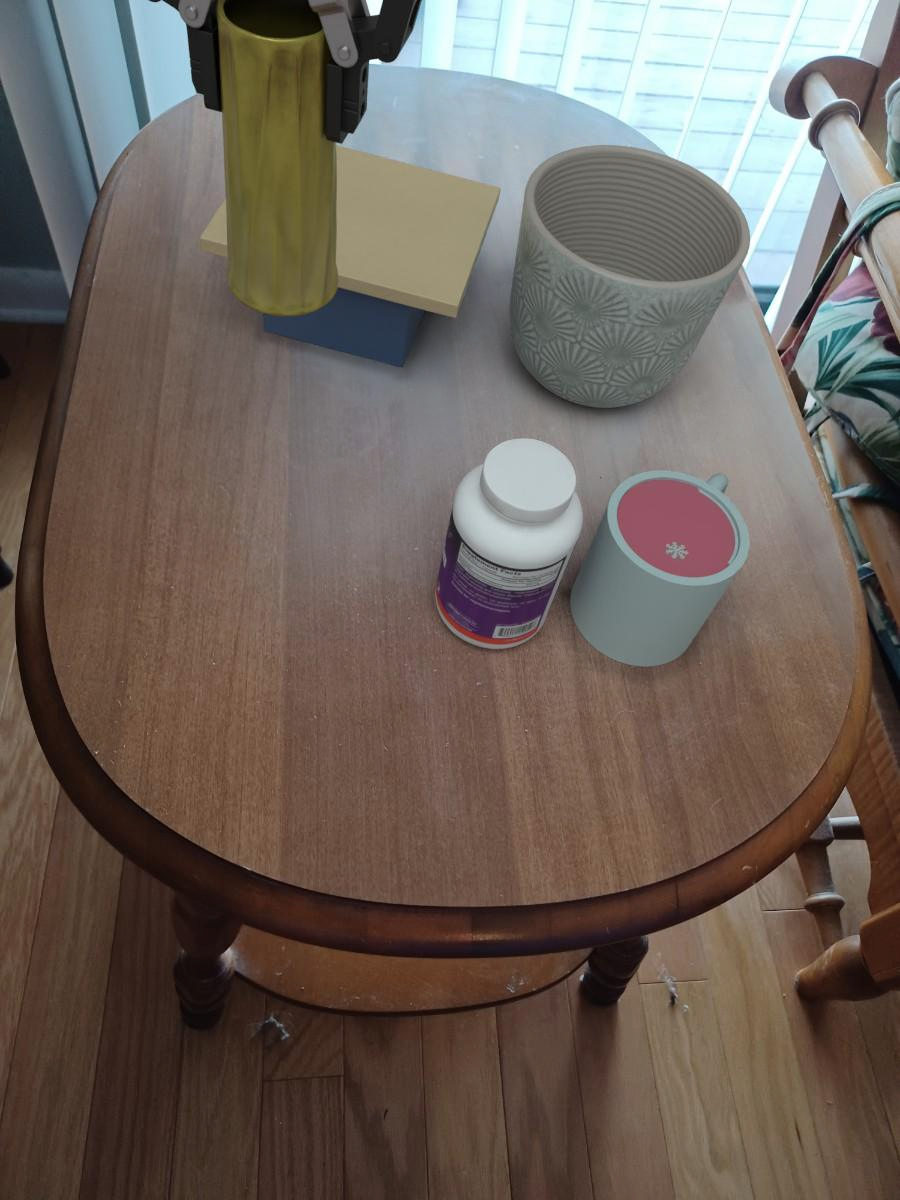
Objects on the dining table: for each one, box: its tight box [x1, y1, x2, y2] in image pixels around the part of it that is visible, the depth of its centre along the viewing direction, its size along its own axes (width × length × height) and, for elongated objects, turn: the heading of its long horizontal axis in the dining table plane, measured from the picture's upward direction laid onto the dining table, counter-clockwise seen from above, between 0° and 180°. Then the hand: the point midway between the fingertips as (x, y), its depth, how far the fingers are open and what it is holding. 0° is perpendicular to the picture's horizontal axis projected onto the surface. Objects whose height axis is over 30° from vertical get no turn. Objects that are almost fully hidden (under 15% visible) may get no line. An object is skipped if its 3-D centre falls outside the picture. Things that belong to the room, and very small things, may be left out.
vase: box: [216, 0, 339, 316], centre depth 47 cm, size 6×6×14 cm
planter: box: [508, 144, 751, 409], centre depth 76 cm, size 17×17×15 cm
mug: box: [569, 469, 751, 668], centre depth 65 cm, size 14×9×10 cm
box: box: [199, 144, 501, 368], centre depth 79 cm, size 20×16×9 cm
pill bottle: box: [434, 437, 584, 650], centre depth 61 cm, size 8×8×14 cm
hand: (279, 116), depth 45 cm, fingers closed on vase, 5 cm apart
